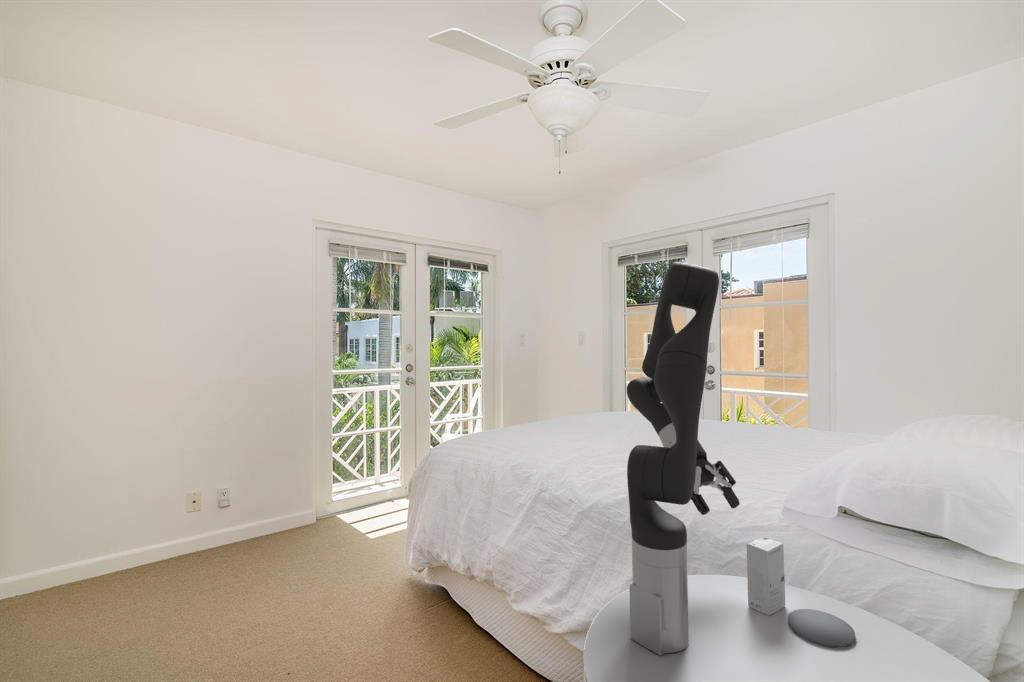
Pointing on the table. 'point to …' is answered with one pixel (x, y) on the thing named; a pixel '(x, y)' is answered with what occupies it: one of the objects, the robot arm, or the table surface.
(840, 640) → the coaster mat
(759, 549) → the skincare box
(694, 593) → the table surface
